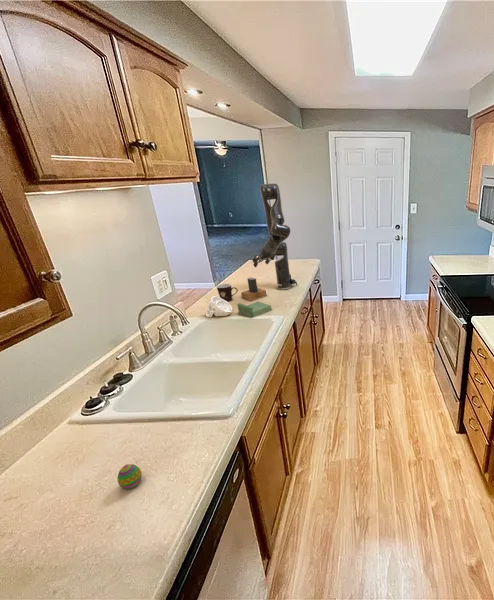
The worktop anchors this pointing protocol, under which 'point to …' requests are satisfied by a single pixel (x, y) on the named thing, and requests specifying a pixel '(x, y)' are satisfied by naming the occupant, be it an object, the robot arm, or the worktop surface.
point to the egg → (129, 476)
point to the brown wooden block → (253, 294)
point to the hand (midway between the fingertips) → (260, 264)
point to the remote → (252, 284)
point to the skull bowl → (218, 307)
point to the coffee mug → (225, 291)
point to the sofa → (253, 309)
